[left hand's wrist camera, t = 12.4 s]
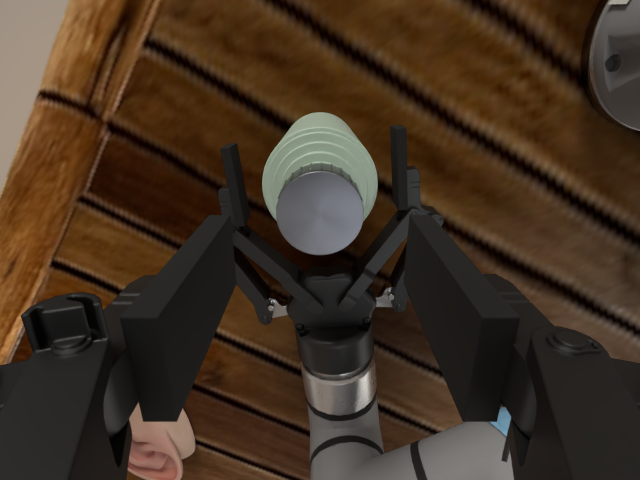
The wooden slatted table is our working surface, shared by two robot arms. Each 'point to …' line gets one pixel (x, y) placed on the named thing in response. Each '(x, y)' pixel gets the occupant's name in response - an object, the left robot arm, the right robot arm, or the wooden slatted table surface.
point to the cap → (320, 209)
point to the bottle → (319, 157)
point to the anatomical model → (159, 447)
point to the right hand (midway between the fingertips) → (312, 135)
